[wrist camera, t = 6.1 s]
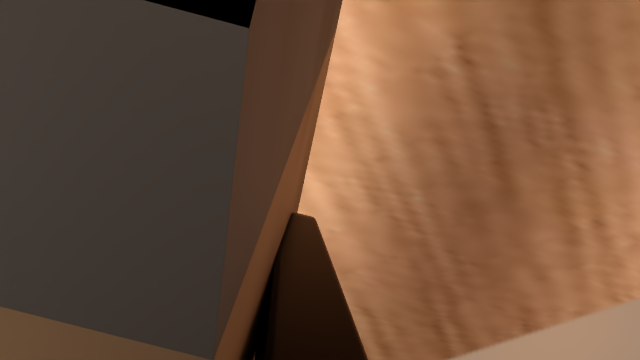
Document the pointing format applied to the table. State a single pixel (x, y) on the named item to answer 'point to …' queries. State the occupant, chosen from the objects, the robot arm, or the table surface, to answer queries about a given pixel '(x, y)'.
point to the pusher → (150, 170)
